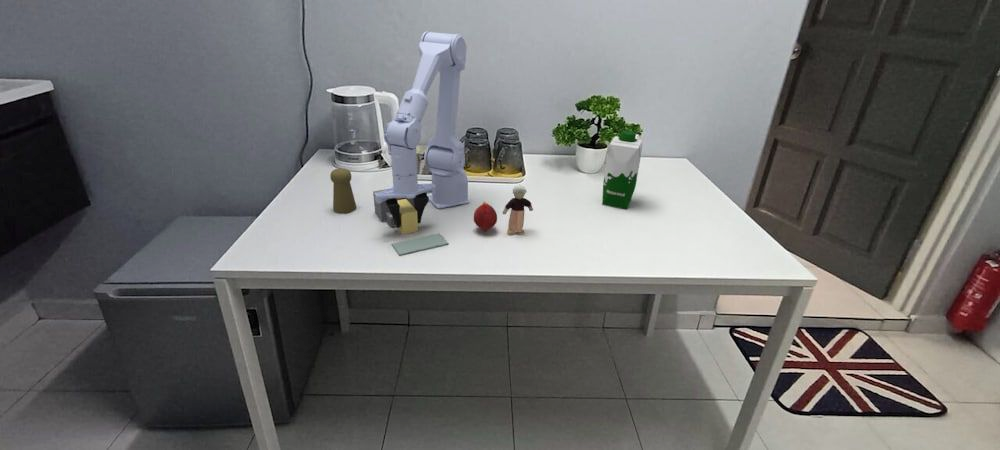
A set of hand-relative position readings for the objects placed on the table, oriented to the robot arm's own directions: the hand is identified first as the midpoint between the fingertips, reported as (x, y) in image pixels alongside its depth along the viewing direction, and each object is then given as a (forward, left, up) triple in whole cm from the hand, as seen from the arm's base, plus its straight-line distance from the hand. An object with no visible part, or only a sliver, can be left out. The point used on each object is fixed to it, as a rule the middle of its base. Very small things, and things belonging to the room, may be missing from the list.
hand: (407, 223), depth 120 cm
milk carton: (-59, +10, -2) cm, 60 cm away
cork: (+11, -18, -2) cm, 22 cm away
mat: (0, +8, -2) cm, 9 cm away
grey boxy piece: (0, -8, -2) cm, 9 cm away
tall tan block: (0, -2, -2) cm, 3 cm away
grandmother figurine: (-24, +13, -2) cm, 27 cm away
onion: (-17, +9, -2) cm, 19 cm away
